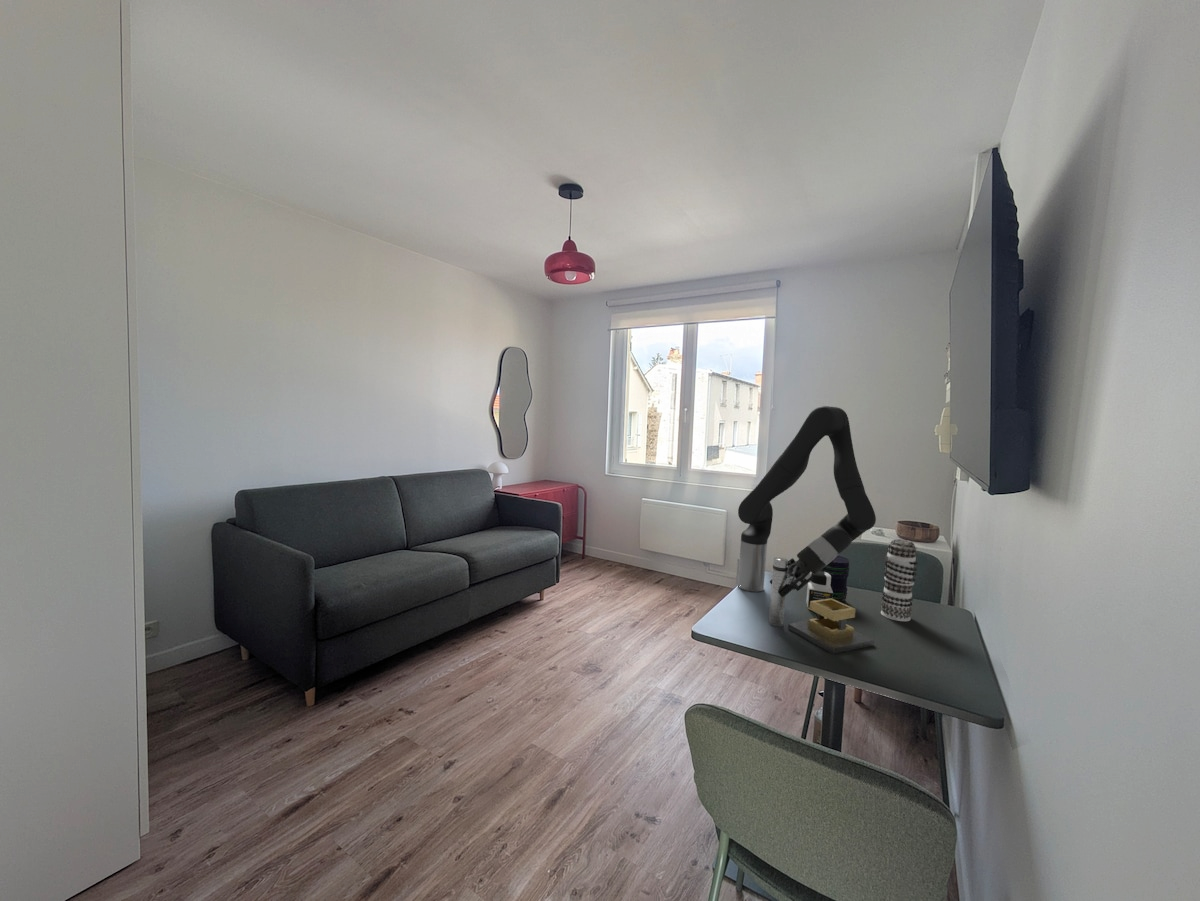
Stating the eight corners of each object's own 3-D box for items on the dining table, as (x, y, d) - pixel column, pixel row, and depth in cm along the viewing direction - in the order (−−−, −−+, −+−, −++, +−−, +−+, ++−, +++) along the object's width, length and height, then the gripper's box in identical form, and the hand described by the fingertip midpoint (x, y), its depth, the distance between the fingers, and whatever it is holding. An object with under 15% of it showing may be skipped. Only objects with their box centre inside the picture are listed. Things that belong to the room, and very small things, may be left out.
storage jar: (847, 599, 174) (851, 558, 173) (844, 607, 166) (848, 564, 165) (817, 592, 180) (820, 552, 179) (812, 600, 171) (816, 558, 170)
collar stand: (788, 628, 147) (790, 597, 146) (827, 622, 153) (830, 592, 153) (832, 653, 132) (835, 619, 132) (873, 645, 139) (877, 612, 138)
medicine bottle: (807, 609, 163) (810, 574, 162) (806, 602, 170) (809, 568, 169) (831, 613, 161) (834, 577, 160) (828, 605, 167) (831, 571, 167)
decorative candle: (902, 611, 165) (910, 538, 164) (917, 623, 156) (925, 545, 154) (874, 609, 166) (881, 536, 164) (887, 620, 157) (895, 543, 155)
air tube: (765, 621, 151) (770, 557, 150) (776, 620, 153) (781, 556, 151) (775, 627, 147) (780, 562, 146) (786, 625, 149) (791, 560, 148)
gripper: (801, 539, 155) (761, 572, 156) (818, 552, 141) (774, 588, 142) (816, 557, 155) (776, 590, 157) (835, 571, 141) (791, 607, 142)
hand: (775, 589), depth 149 cm, fingers open, 8 cm apart
